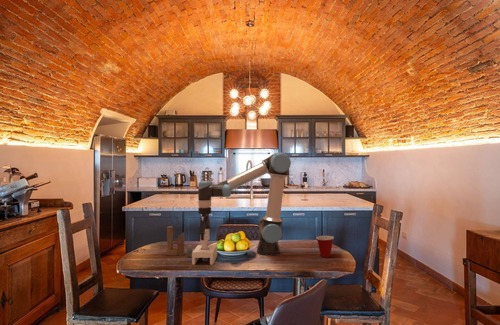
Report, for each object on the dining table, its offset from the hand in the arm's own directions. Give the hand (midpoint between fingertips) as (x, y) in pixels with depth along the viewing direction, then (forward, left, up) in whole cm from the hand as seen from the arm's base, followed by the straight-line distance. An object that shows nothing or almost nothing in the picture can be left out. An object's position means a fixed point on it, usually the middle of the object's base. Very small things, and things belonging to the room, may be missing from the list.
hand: (205, 242), depth 192 cm
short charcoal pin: (+11, -7, -11) cm, 17 cm away
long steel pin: (0, 0, -11) cm, 11 cm away
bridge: (0, 0, -11) cm, 11 cm away
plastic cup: (-73, -11, -11) cm, 75 cm away
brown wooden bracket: (+21, -10, -11) cm, 26 cm away
